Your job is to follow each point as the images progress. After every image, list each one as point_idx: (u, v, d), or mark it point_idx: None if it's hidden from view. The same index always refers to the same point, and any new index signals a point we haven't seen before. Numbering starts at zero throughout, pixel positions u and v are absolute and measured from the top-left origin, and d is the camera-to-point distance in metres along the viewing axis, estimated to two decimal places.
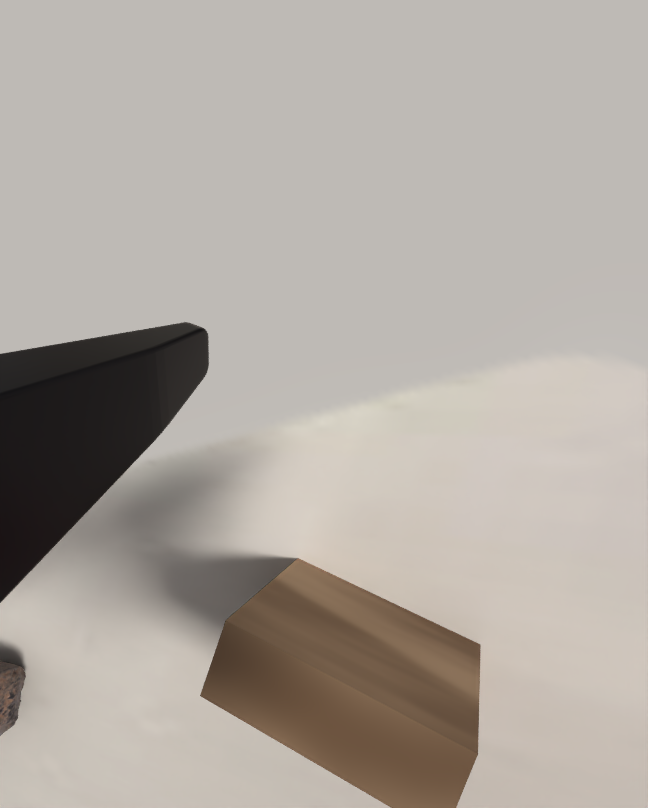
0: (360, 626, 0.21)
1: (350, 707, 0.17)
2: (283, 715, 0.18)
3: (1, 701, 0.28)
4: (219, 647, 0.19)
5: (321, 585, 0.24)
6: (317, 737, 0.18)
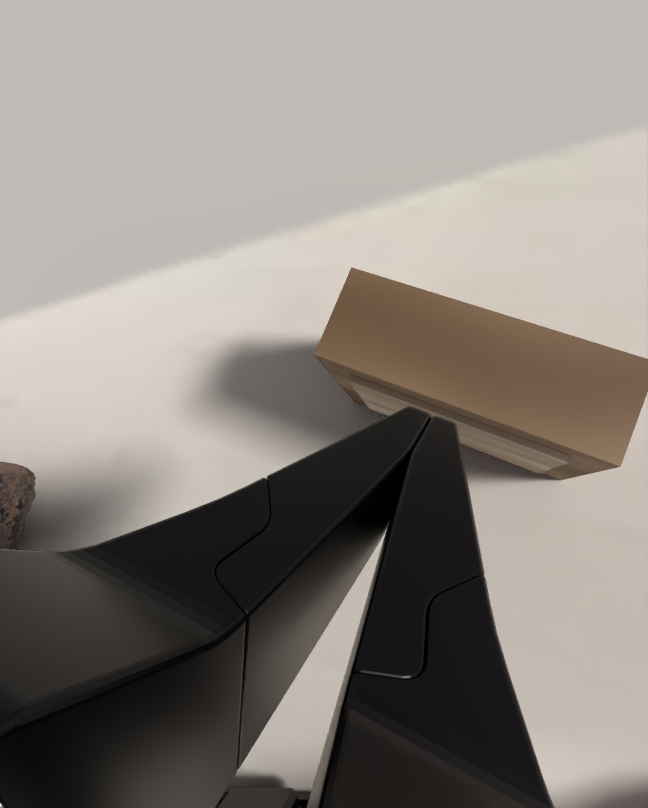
0: None
1: (502, 336, 0.15)
2: (418, 359, 0.16)
3: (10, 502, 0.23)
4: (341, 298, 0.17)
5: None
6: (460, 377, 0.15)
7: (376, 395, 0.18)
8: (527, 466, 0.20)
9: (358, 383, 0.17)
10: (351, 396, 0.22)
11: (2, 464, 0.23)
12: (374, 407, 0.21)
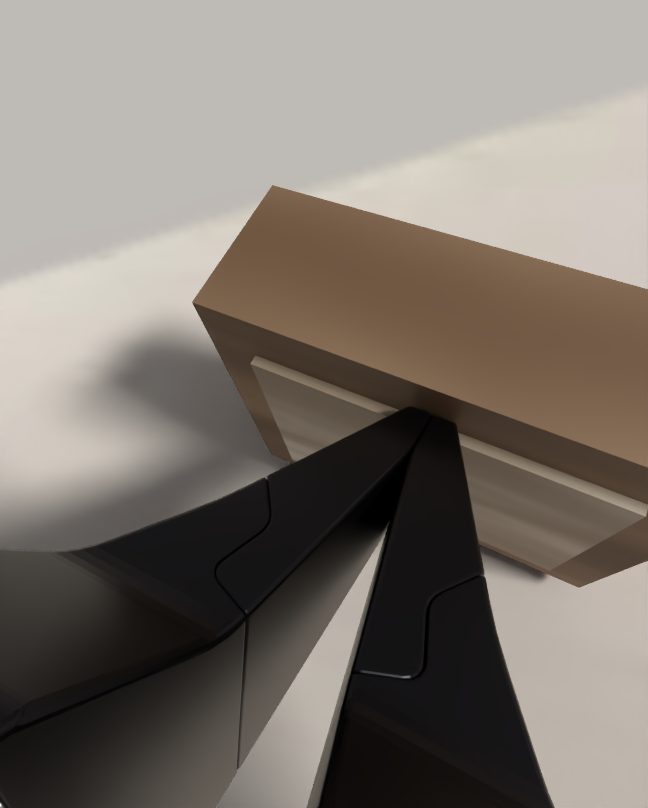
0: None
1: (518, 285, 0.09)
2: (373, 315, 0.09)
3: None
4: (251, 224, 0.10)
5: None
6: (447, 345, 0.08)
7: (298, 402, 0.11)
8: (536, 554, 0.12)
9: (267, 369, 0.10)
10: (267, 440, 0.15)
11: None
12: (298, 452, 0.14)
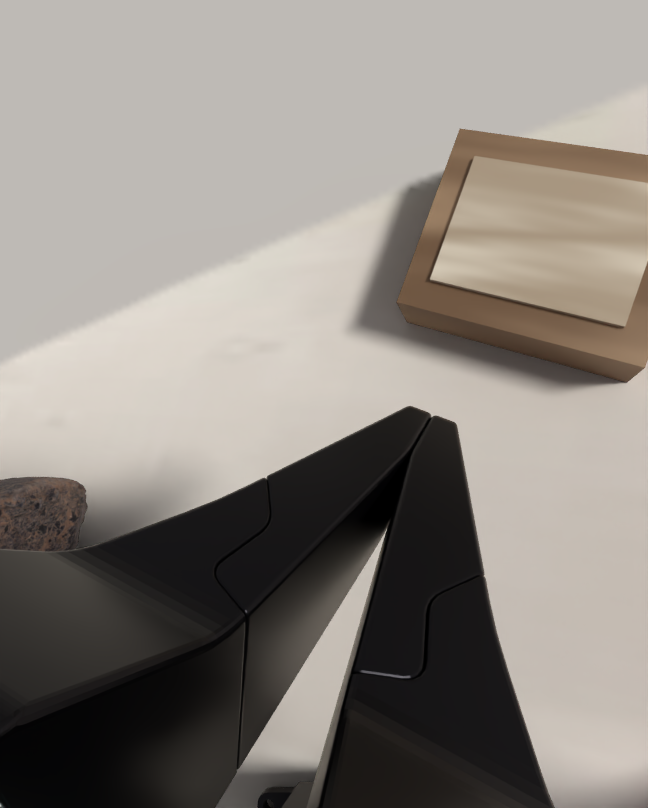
0: None
1: None
2: None
3: (64, 515, 0.24)
4: None
5: None
6: None
7: (488, 182, 0.20)
8: (616, 298, 0.18)
9: (483, 158, 0.21)
10: (409, 274, 0.21)
11: (53, 479, 0.24)
12: (446, 258, 0.21)
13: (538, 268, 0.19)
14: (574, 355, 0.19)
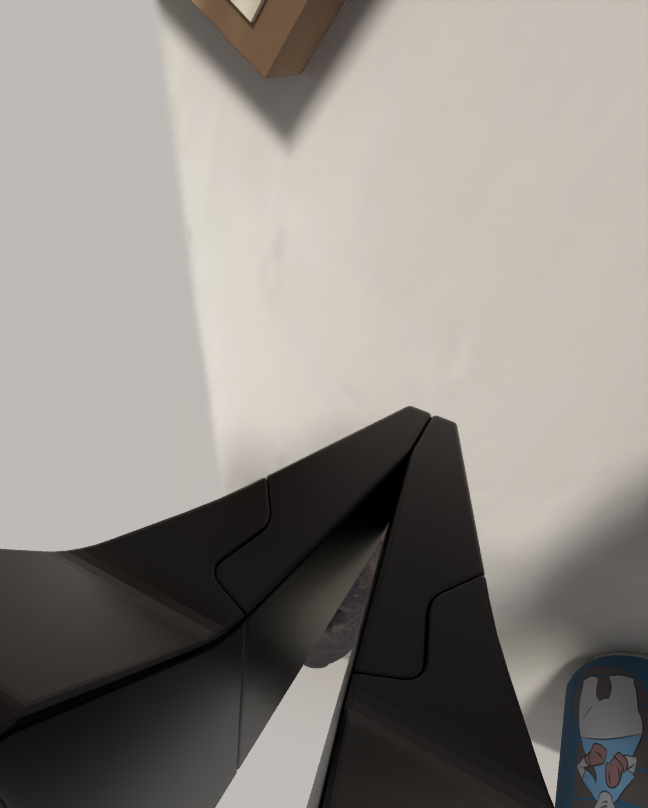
0: None
1: None
2: None
3: None
4: None
5: None
6: None
7: None
8: None
9: None
10: (239, 47, 0.17)
11: None
12: None
13: None
14: None
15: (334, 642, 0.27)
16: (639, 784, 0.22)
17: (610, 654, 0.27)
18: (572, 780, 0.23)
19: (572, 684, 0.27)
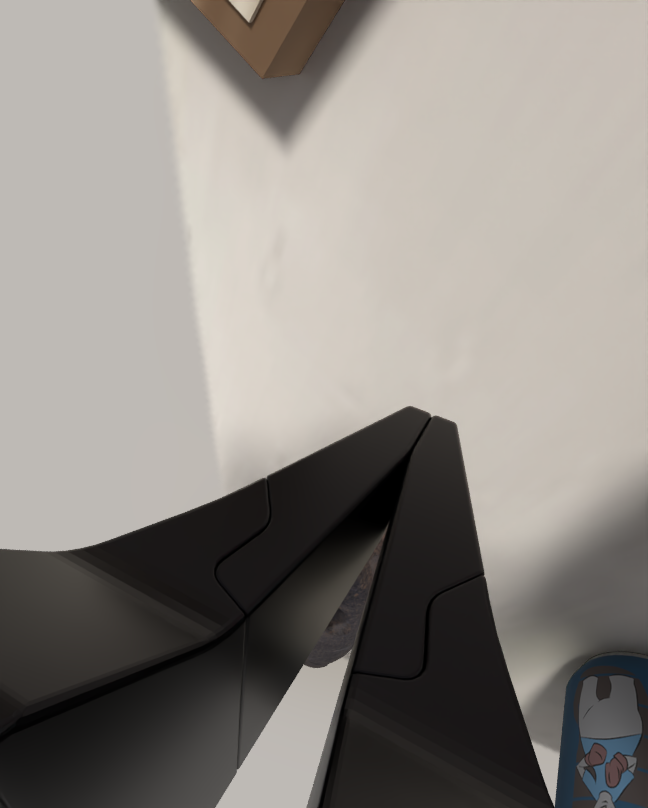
0: None
1: None
2: None
3: None
4: None
5: None
6: None
7: None
8: None
9: None
10: (237, 47, 0.17)
11: None
12: None
13: None
14: None
15: (333, 641, 0.27)
16: (639, 784, 0.22)
17: (610, 654, 0.27)
18: (572, 780, 0.23)
19: (572, 684, 0.27)
